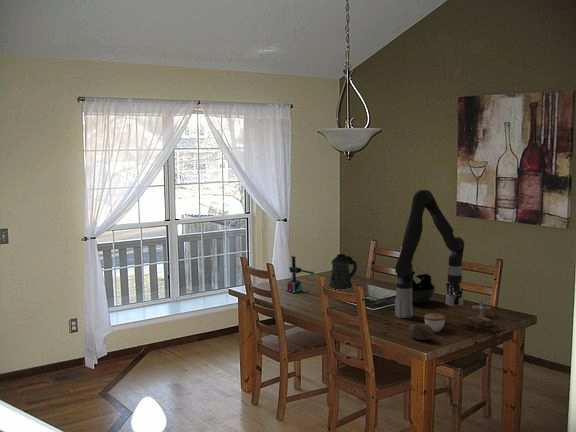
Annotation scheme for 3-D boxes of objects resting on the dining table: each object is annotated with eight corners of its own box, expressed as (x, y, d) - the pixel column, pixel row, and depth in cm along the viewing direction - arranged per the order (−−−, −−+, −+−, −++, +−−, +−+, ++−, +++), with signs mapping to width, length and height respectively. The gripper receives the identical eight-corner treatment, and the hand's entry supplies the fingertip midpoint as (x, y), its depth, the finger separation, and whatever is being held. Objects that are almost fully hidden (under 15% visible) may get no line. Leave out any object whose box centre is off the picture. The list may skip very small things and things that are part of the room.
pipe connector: (490, 314, 365) (490, 297, 364) (490, 319, 356) (490, 301, 355) (472, 313, 368) (472, 296, 367) (471, 318, 359) (471, 300, 358)
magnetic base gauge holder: (282, 290, 439) (281, 256, 436) (292, 288, 445) (291, 254, 442) (306, 296, 420) (305, 260, 417) (316, 294, 426) (315, 258, 423)
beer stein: (323, 291, 434) (322, 255, 431) (342, 285, 447) (341, 251, 444) (341, 294, 422) (340, 258, 419) (360, 289, 435) (359, 253, 432)
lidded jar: (444, 327, 344) (444, 310, 343) (445, 333, 333) (445, 316, 332) (424, 326, 346) (424, 310, 345) (424, 332, 336) (424, 315, 335)
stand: (475, 328, 340) (475, 322, 340) (464, 322, 351) (464, 317, 351) (493, 325, 343) (493, 320, 343) (481, 320, 354) (482, 315, 354)
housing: (450, 306, 347) (450, 295, 347) (445, 303, 352) (446, 293, 351) (463, 304, 349) (463, 294, 348) (458, 302, 354) (458, 292, 353)
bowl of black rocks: (435, 307, 384) (435, 277, 381) (402, 306, 387) (401, 276, 385) (434, 299, 403) (433, 270, 401) (402, 298, 407) (401, 270, 405)
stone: (440, 340, 322) (440, 325, 321) (429, 344, 317) (429, 329, 316) (414, 333, 335) (413, 319, 334) (403, 337, 330) (402, 322, 329)
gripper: (442, 271, 354) (441, 300, 356) (455, 276, 340) (454, 307, 343) (454, 270, 356) (453, 299, 358) (467, 275, 342) (466, 306, 345)
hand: (453, 303), depth 351 cm, fingers closed on housing, 5 cm apart
